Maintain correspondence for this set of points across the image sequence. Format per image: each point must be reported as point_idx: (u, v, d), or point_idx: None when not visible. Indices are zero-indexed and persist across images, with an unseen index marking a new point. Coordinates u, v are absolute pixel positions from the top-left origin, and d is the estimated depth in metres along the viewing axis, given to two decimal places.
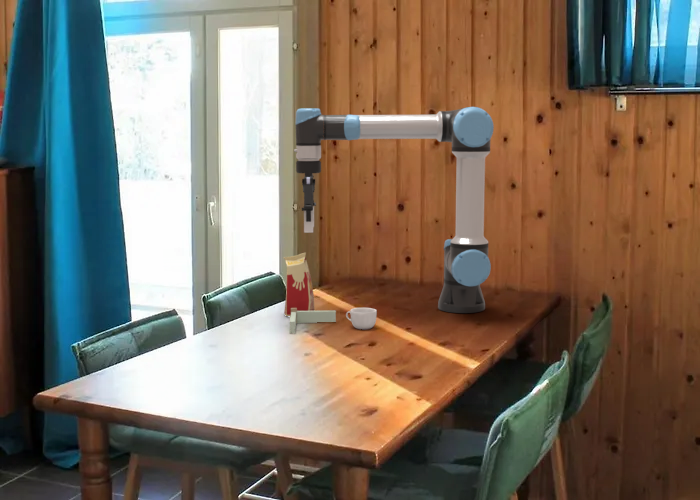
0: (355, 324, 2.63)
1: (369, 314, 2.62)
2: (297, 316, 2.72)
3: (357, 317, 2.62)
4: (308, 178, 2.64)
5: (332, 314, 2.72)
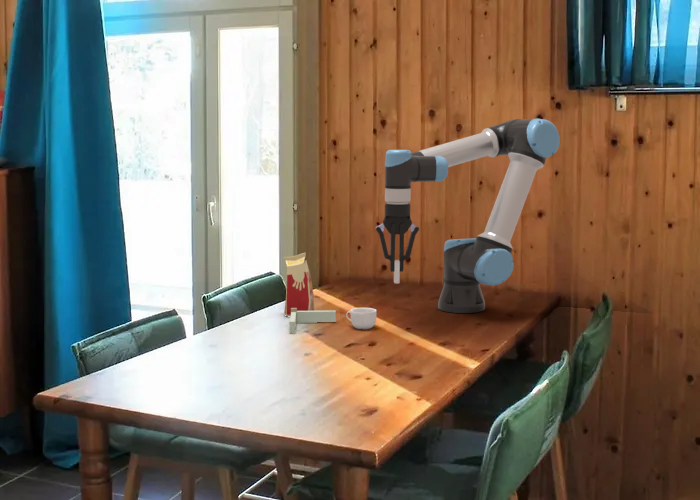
0: (355, 324, 2.63)
1: (369, 314, 2.62)
2: (297, 316, 2.72)
3: (357, 317, 2.62)
4: None
5: (332, 314, 2.72)
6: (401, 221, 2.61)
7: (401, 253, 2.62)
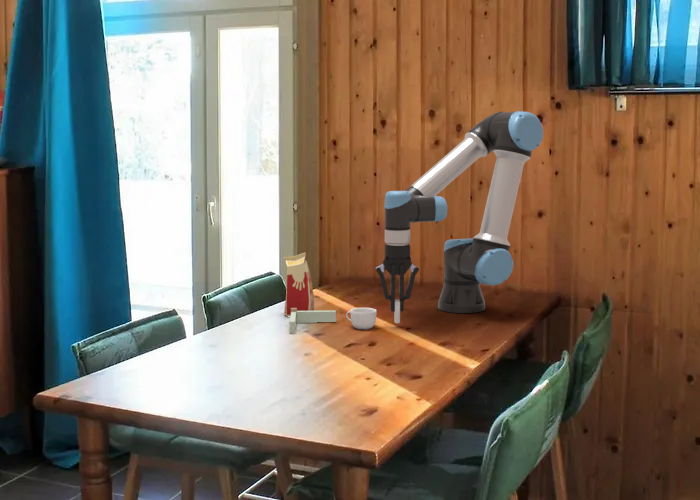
0: (355, 324, 2.63)
1: (369, 314, 2.62)
2: (297, 316, 2.72)
3: (357, 317, 2.62)
4: (376, 269, 2.64)
5: (332, 314, 2.72)
6: (401, 262, 2.63)
7: (401, 293, 2.64)
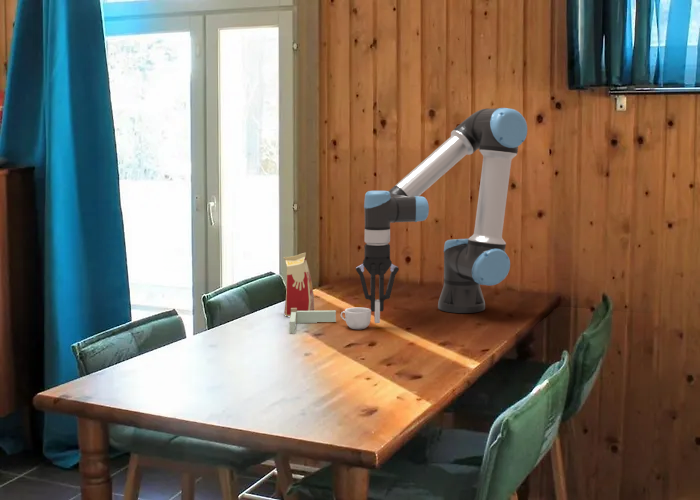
0: (349, 324, 2.63)
1: (363, 314, 2.62)
2: (297, 316, 2.72)
3: (351, 317, 2.62)
4: None
5: (332, 314, 2.72)
6: (381, 261, 2.62)
7: (381, 293, 2.64)
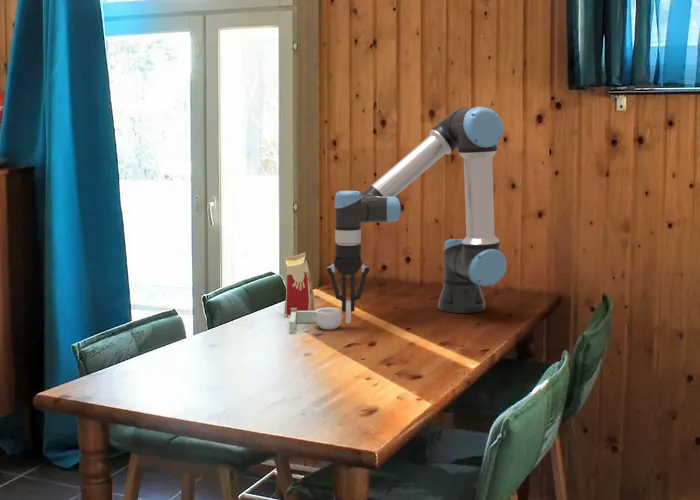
0: (320, 324, 2.63)
1: (334, 314, 2.61)
2: (297, 316, 2.72)
3: (322, 317, 2.62)
4: None
5: None
6: (351, 262, 2.62)
7: (352, 293, 2.63)
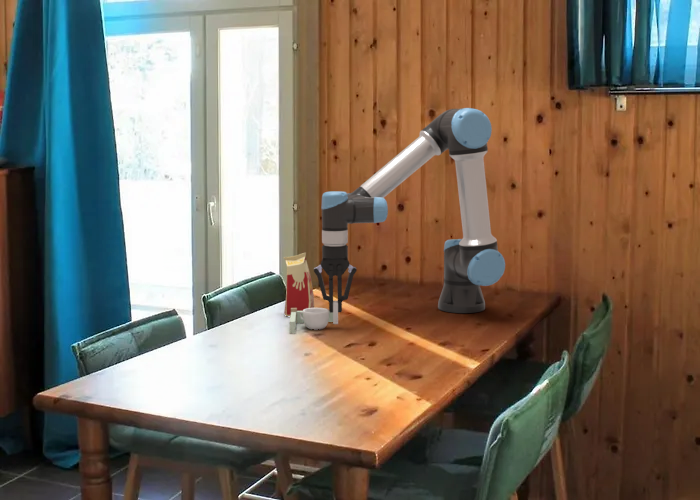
0: (307, 324, 2.63)
1: (320, 314, 2.61)
2: (297, 316, 2.72)
3: (308, 317, 2.62)
4: None
5: (332, 314, 2.72)
6: (338, 262, 2.62)
7: (339, 294, 2.63)
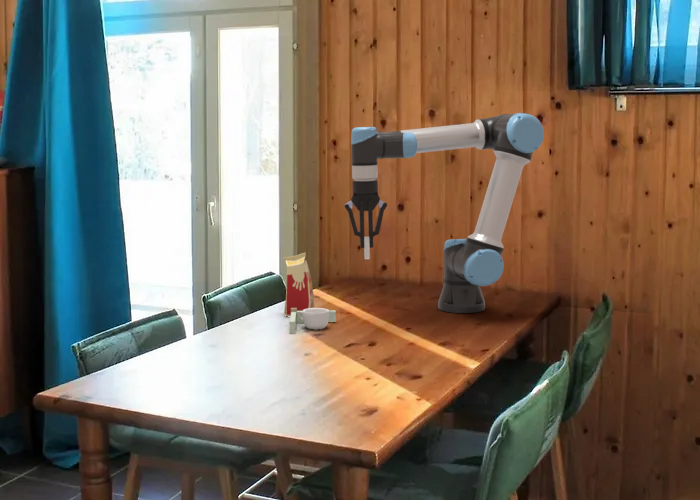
0: (307, 324, 2.63)
1: (320, 314, 2.61)
2: (297, 316, 2.72)
3: (308, 317, 2.62)
4: None
5: (332, 314, 2.72)
6: (369, 198, 2.64)
7: (370, 229, 2.65)
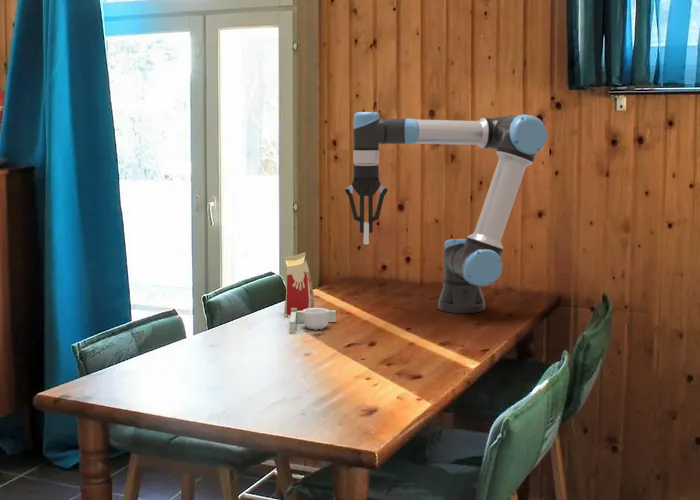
0: (307, 324, 2.63)
1: (320, 314, 2.61)
2: (297, 316, 2.72)
3: (308, 317, 2.62)
4: None
5: (332, 314, 2.72)
6: (370, 183, 2.64)
7: (370, 214, 2.65)
